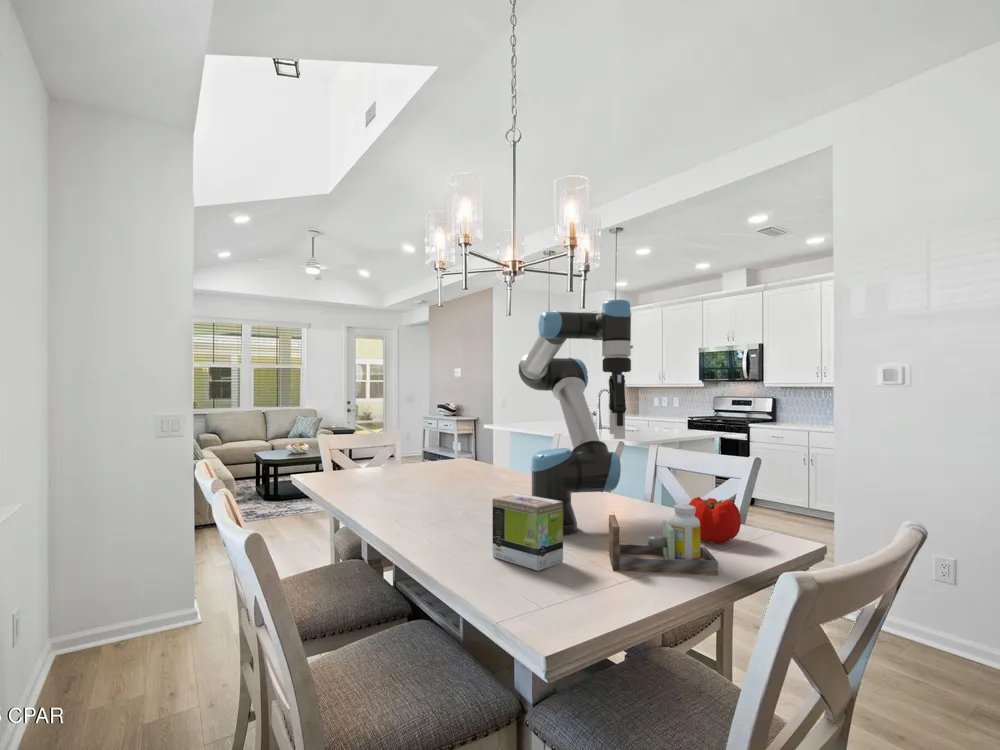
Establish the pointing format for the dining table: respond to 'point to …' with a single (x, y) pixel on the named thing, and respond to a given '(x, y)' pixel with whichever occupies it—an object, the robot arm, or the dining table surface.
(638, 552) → the lane
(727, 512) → the tomato
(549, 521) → the tea box
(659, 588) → the dining table surface
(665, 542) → the pusher
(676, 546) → the supplement bottle
